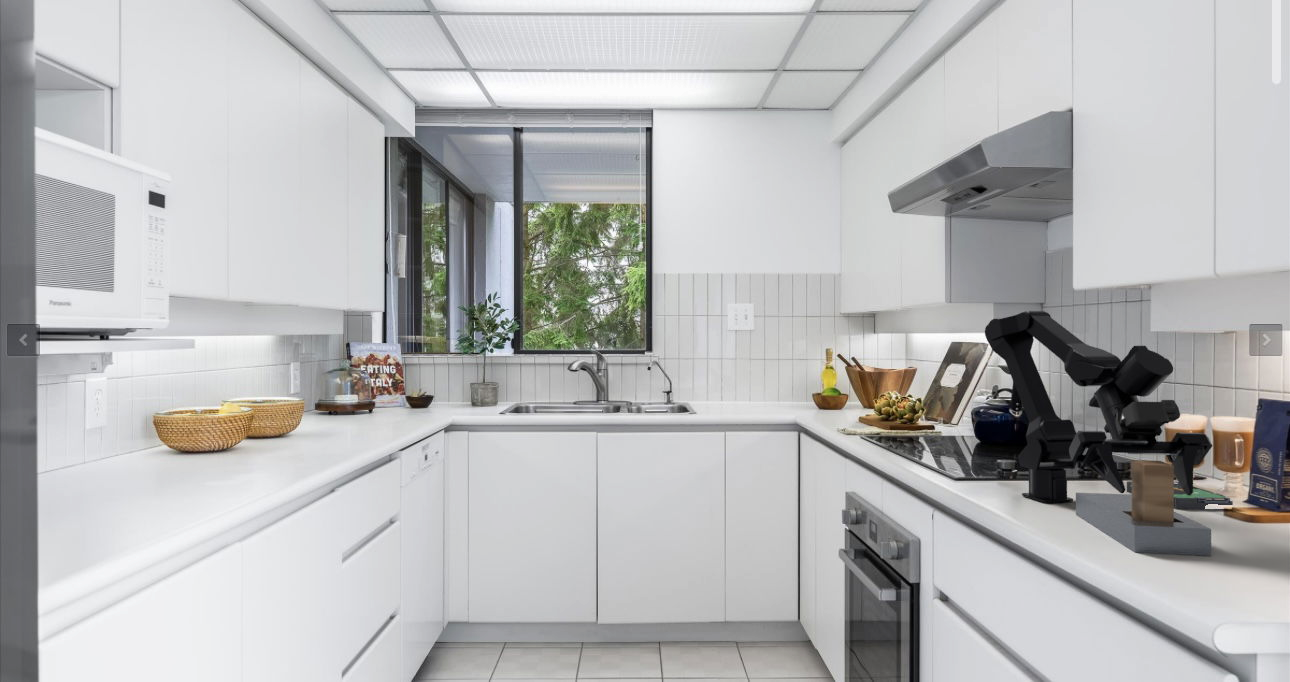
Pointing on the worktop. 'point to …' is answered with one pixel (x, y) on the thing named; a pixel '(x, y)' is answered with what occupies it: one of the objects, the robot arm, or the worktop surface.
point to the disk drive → (1193, 498)
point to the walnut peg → (1152, 491)
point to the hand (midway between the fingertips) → (1156, 492)
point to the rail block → (1142, 526)
